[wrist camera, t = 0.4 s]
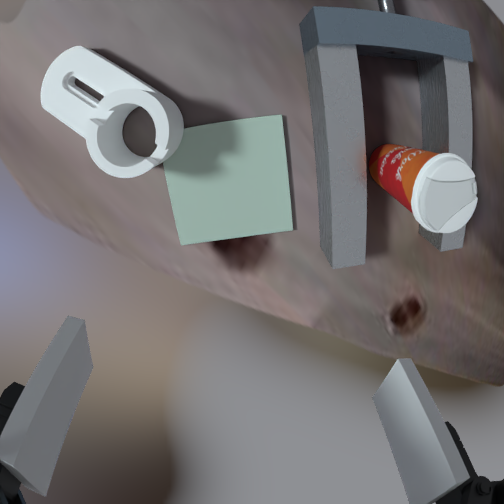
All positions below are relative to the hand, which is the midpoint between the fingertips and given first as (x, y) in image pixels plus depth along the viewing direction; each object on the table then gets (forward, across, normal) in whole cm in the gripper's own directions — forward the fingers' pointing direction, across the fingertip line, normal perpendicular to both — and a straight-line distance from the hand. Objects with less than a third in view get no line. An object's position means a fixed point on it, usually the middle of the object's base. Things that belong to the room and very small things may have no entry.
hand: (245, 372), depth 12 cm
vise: (+27, +15, +15) cm, 34 cm away
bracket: (+27, -17, +8) cm, 33 cm away
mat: (+27, -2, +1) cm, 27 cm away
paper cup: (+27, +17, +7) cm, 33 cm away
